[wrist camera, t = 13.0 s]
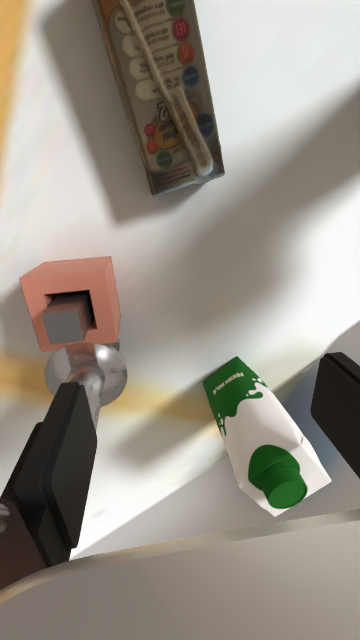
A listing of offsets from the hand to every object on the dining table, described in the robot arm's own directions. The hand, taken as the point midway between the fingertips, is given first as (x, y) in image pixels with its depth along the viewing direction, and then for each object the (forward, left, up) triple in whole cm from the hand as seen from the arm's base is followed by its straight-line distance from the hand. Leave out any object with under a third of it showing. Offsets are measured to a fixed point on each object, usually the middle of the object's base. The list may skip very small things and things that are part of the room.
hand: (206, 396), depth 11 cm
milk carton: (-10, +21, -27) cm, 36 cm away
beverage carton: (-2, -18, -27) cm, 33 cm away
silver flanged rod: (+10, +11, -27) cm, 30 cm away
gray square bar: (+9, +3, -27) cm, 29 cm away
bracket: (+10, +4, -27) cm, 29 cm away
